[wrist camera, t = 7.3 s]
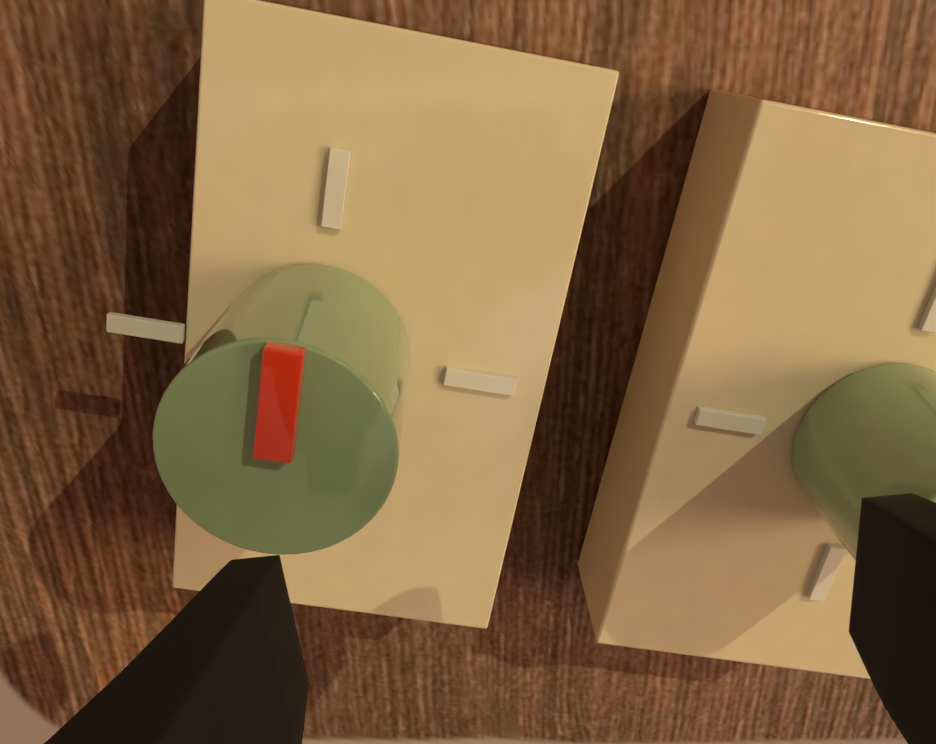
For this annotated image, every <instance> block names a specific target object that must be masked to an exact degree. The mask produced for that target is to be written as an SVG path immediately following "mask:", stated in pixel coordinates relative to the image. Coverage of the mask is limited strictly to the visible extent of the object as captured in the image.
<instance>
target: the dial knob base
mask: <svg viewBox="0 0 936 744" xmlns="http://www.w3.org/2000/svg"><path fill="white" fill-rule="evenodd" d="M885 364H913V365H918V366H922V367H926V368H929V369H931V370H934V371H936V132H934V131H929V130H924V129H919V128H914V127H909V126H904V125H899V124H893V123H888V122H883V121H878V120H873V119H868V118H863V117H858V116H853V115H848V114H843V113H837V112H832V111H827V110H822V109H817V108H812V107H807V106H802V105H797V104H792V103H787V102H782V101H776V100H771V99H766V98H761V97H756V96H751V95H746V94H741V93H736V92H731V91H726V90H720V89H712V90H711V91H710V93H709V97H708V100H707V104H706V107H705V111H704V114H703V118H702V122H701V125H700V129H699V132H698V136H697V139H696V143H695V147H694V150H693V154H692V157H691V161H690V164H689V168H688V172H687V175H686V179H685V182H684V186H683V189H682V193H681V197H680V200H679V204H678V207H677V211H676V214H675V218H674V222H673V225H672V229H671V232H670V236H669V239H668V243H667V247H666V250H665V254H664V257H663V261H662V264H661V268H660V272H659V275H658V279H657V282H656V286H655V289H654V293H653V297H652V300H651V304H650V307H649V311H648V314H647V318H646V322H645V325H644V329H643V332H642V336H641V339H640V343H639V347H638V350H637V354H636V357H635V361H634V365H633V368H632V372H631V375H630V379H629V382H628V386H627V390H626V393H625V397H624V400H623V404H622V407H621V411H620V415H619V418H618V422H617V425H616V429H615V432H614V436H613V440H612V443H611V447H610V450H609V454H608V457H607V461H606V465H605V468H604V472H603V475H602V479H601V482H600V486H599V490H598V493H597V497H596V500H595V504H594V507H593V511H592V515H591V518H590V522H589V525H588V529H587V532H586V536H585V540H584V543H583V547H582V550H581V554H580V557H579V561H578V568H579V572H580V576H581V581H582V585H583V589H584V593H585V597H586V601H587V605H588V610H589V614H590V618H591V622H592V626H593V630H594V635H595V639H596V642H598V643H601V644H609V645H616V646H624V647H631V648H639V649H647V650H654V651H662V652H669V653H677V654H685V655H692V656H700V657H707V658H715V659H723V660H730V661H738V662H745V663H753V664H760V665H768V666H776V667H783V668H791V669H798V670H806V671H814V672H821V673H829V674H836V675H844V676H852V677H859V678H867V679H871V678H870V676H869V674H868V672H867V670H866V668H865V666H864V664H863V662H862V659H861V657H860V655H859V653H858V651H857V649H856V646H855V644H854V642H853V640H852V638H851V636H850V633H849V623H850V613H851V603H852V592H853V582H854V572H855V561H854V559H853V558H852V557H851V555H850V554H849V553H848V551H847V550H846V549H845V547H844V546H843V545H842V544H841V542H840V541H839V540H838V538H837V537H836V536H835V534H834V533H833V532H832V530H831V529H830V528H829V526H828V525H827V524H826V523H825V521H824V520H823V519H822V517H821V516H820V515H819V513H818V512H817V511H816V509H815V508H814V507H813V506H812V504H811V503H810V502H809V500H808V499H807V498H806V496H805V495H804V494H803V492H802V491H801V489H800V487H799V485H798V483H797V481H796V479H795V475H794V472H793V465H792V450H793V444H794V439H795V436H796V433H797V430H798V428H799V425H800V423H801V421H802V419H803V418H804V416H805V414H806V413H807V411H808V410H809V409H810V407H811V406H812V405H813V404H814V402H815V401H816V400H817V399H818V398H819V397H820V396H821V395H822V394H823V393H824V392H825V391H827V390H828V389H829V388H830V387H832V386H833V385H834V384H836V383H837V382H839V381H840V380H842V379H844V378H845V377H847V376H850V375H852V374H854V373H856V372H858V371H861V370H864V369H866V368H870V367H874V366H878V365H885Z"/></svg>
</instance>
